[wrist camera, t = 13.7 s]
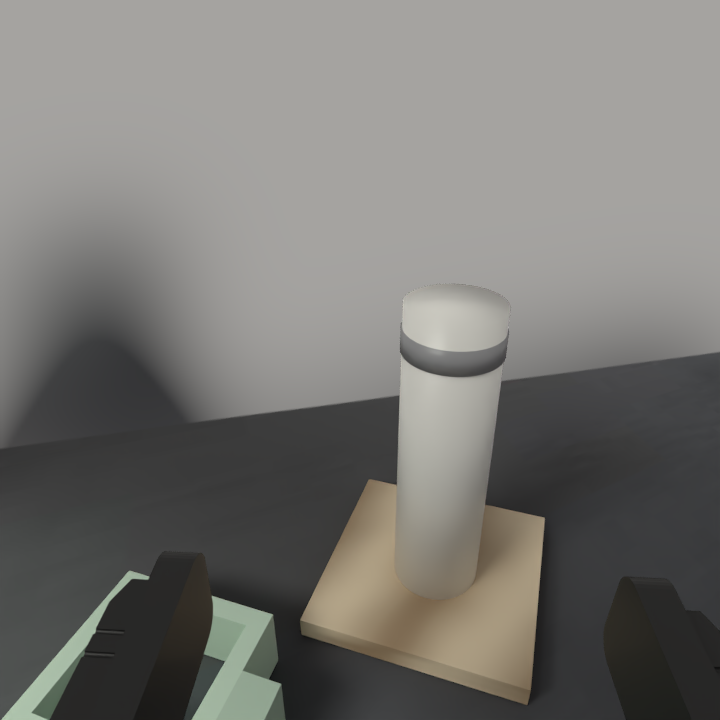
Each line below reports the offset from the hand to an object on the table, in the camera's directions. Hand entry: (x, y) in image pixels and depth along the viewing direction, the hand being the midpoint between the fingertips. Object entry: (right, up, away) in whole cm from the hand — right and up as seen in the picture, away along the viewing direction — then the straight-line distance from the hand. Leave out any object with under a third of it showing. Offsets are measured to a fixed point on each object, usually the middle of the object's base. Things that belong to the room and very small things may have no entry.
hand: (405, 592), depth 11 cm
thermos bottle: (+3, -6, +17) cm, 18 cm away
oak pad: (+3, -6, +18) cm, 19 cm away
